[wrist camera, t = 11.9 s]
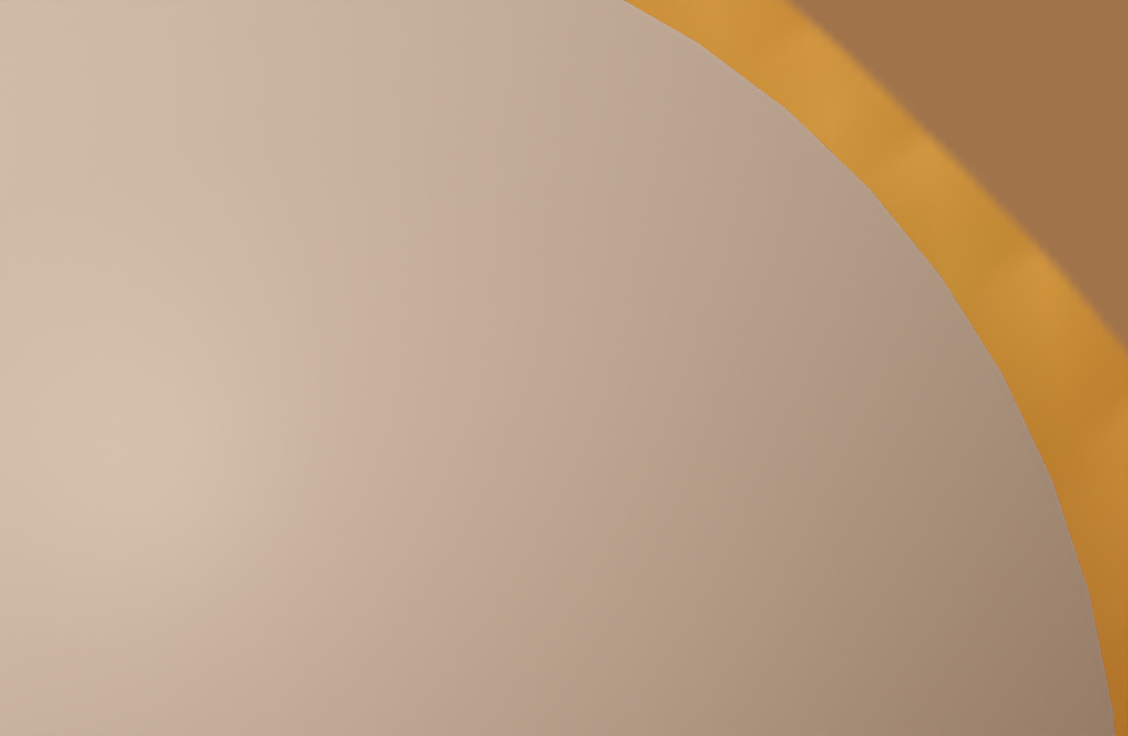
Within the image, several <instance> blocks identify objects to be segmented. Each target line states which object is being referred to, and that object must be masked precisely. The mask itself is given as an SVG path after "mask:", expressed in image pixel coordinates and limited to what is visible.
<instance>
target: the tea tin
mask: <svg viewBox="0 0 1128 736" xmlns="http://www.w3.org/2000/svg"><path fill="white" fill-rule="evenodd" d="M0 736H1115V732H1114V719H1113V709H1112V704H1111V699H1110V694H1109V689H1108V684H1107V679H1106V674H1105V669H1104V664H1103V659H1102V654H1101V649H1100V644H1099V639H1098V634H1097V629H1096V624H1095V619H1094V614H1093V609H1092V604H1091V599H1090V594H1089V591H1088V588H1087V585H1086V582H1085V579H1084V576H1083V572H1082V569H1081V566H1080V563H1079V560H1078V557H1077V554H1076V551H1075V548H1074V545H1073V542H1072V539H1071V536H1070V533H1069V530H1068V527H1067V524H1066V521H1065V518H1064V515H1063V512H1062V509H1061V506H1060V503H1059V500H1058V496H1057V493H1056V490H1055V487H1054V484H1053V481H1052V479H1051V477H1050V475H1049V472H1048V470H1047V468H1046V466H1045V464H1044V462H1043V460H1042V457H1041V455H1040V453H1039V451H1038V449H1037V447H1036V445H1035V443H1034V440H1033V438H1032V436H1031V434H1030V432H1029V430H1028V428H1027V426H1026V423H1025V421H1024V419H1023V417H1022V415H1021V413H1020V411H1019V408H1018V406H1017V404H1016V402H1015V400H1014V398H1013V396H1012V394H1011V391H1010V389H1009V387H1008V385H1007V383H1006V381H1005V379H1004V376H1003V374H1002V373H1001V371H1000V370H999V368H998V366H997V365H996V363H995V362H994V360H993V358H992V357H991V355H990V354H989V352H988V351H987V349H986V347H985V346H984V344H983V343H982V341H981V339H980V338H979V336H978V335H977V333H976V331H975V330H974V328H973V327H972V325H971V323H970V322H969V320H968V319H967V317H966V315H965V314H964V312H963V311H962V309H961V307H960V306H959V304H958V303H957V301H956V300H955V298H954V296H953V295H952V293H951V292H950V290H949V288H948V287H947V285H946V284H945V282H944V280H943V279H942V277H941V276H940V275H939V274H938V272H937V271H936V270H935V269H934V267H933V266H932V265H931V264H930V262H929V261H928V260H927V259H926V258H925V256H924V255H923V254H922V253H921V251H920V250H919V249H918V248H917V246H916V245H915V244H914V243H913V242H912V240H911V239H910V238H909V237H908V235H907V234H906V233H905V232H904V230H903V229H902V228H901V227H900V226H899V224H898V223H897V222H896V221H895V219H894V218H893V217H892V216H891V214H890V213H889V212H888V211H887V210H886V208H885V207H884V206H883V205H882V203H881V202H880V201H879V200H878V198H877V197H876V196H875V195H874V194H873V192H872V191H871V190H870V189H869V188H868V187H867V186H866V185H865V184H864V183H863V182H862V181H861V180H860V179H859V178H858V177H857V176H856V175H855V174H854V173H853V172H852V171H851V170H850V169H849V168H847V167H846V166H845V165H844V164H843V163H842V162H841V161H840V160H839V159H838V158H837V157H836V156H835V155H834V154H833V153H832V152H831V151H830V150H829V149H828V148H827V147H826V146H825V145H824V144H822V143H821V142H820V141H819V140H818V139H817V138H816V137H815V136H814V135H813V134H812V133H811V132H810V131H809V130H808V129H807V128H806V127H805V126H804V125H803V124H802V123H801V122H800V121H799V120H797V119H796V118H795V117H794V116H793V115H792V114H791V113H790V112H789V111H788V110H787V109H786V108H784V107H783V106H782V105H780V104H779V103H778V102H776V101H775V100H774V99H772V98H771V97H770V96H768V95H767V94H766V93H764V92H763V91H762V90H760V89H759V88H757V87H756V86H755V85H753V84H752V83H751V82H749V81H748V80H747V79H745V78H744V77H743V76H741V75H740V74H739V73H737V72H736V71H735V70H733V69H732V68H731V67H729V66H728V65H727V64H725V63H724V62H723V61H721V60H720V59H719V58H717V57H716V56H715V55H713V54H712V53H711V52H709V51H708V50H707V49H705V48H704V47H703V46H701V45H700V44H699V43H697V42H696V41H694V40H692V39H690V38H689V37H687V36H685V35H683V34H682V33H680V32H678V31H676V30H675V29H673V28H671V27H669V26H668V25H666V24H664V23H662V22H661V21H659V20H657V19H656V18H654V17H652V16H650V15H649V14H647V13H645V12H643V11H642V10H640V9H638V8H636V7H635V6H633V5H631V4H629V3H628V2H626V1H624V0H0Z"/></svg>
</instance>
